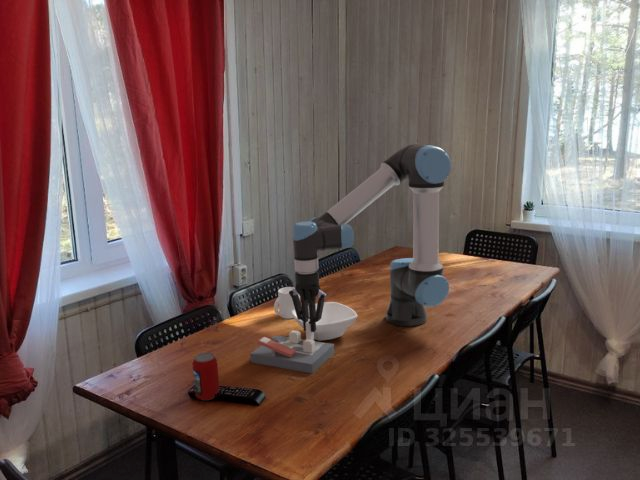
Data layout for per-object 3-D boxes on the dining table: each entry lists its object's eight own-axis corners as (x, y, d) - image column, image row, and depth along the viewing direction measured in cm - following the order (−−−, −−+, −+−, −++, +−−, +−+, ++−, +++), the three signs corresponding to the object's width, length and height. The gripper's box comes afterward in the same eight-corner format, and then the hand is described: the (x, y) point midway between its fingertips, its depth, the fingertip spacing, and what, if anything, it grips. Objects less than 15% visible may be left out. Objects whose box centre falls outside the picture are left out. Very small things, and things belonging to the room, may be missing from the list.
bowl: (312, 352, 186) (310, 328, 184) (286, 332, 204) (284, 310, 202) (365, 339, 195) (365, 315, 193) (336, 321, 213) (335, 299, 211)
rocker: (295, 352, 178) (296, 349, 178) (290, 357, 175) (290, 354, 175) (262, 339, 182) (263, 336, 182) (257, 343, 179) (257, 340, 179)
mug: (282, 323, 212) (281, 297, 210) (267, 318, 218) (266, 293, 216) (305, 314, 221) (303, 289, 219) (290, 310, 226) (289, 285, 224)
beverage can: (197, 391, 163) (193, 352, 160) (220, 389, 164) (217, 350, 161) (194, 402, 156) (190, 362, 154) (218, 401, 157) (215, 360, 154)
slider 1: (301, 340, 188) (300, 331, 187) (297, 343, 186) (297, 333, 185) (293, 339, 189) (292, 329, 188) (289, 342, 187) (289, 332, 186)
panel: (334, 352, 185) (333, 339, 184) (312, 373, 171) (312, 359, 170) (275, 343, 195) (275, 331, 194) (250, 362, 181) (249, 349, 180)
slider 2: (315, 349, 180) (314, 339, 179) (311, 352, 178) (311, 342, 177) (306, 348, 181) (306, 338, 180) (303, 351, 179) (302, 341, 178)
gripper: (330, 269, 180) (333, 338, 185) (294, 266, 186) (298, 333, 191) (320, 275, 173) (323, 347, 179) (283, 272, 179) (287, 342, 184)
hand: (310, 340), depth 185 cm, fingers closed
